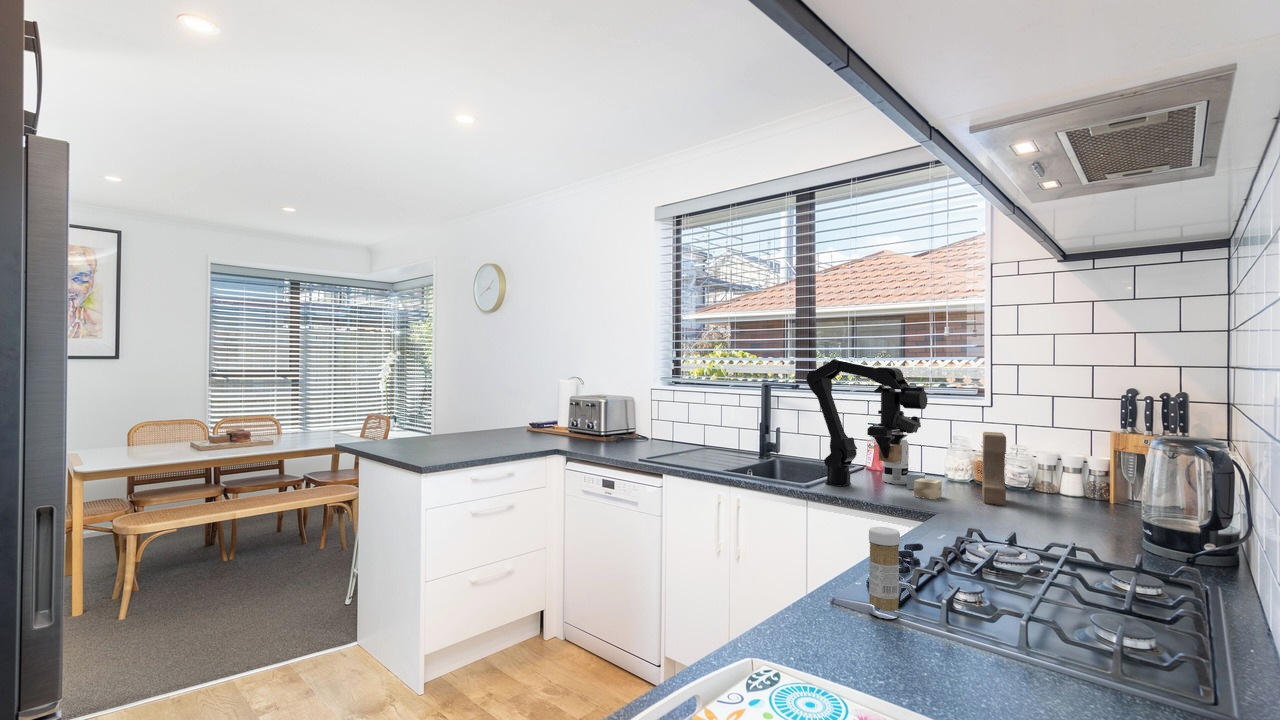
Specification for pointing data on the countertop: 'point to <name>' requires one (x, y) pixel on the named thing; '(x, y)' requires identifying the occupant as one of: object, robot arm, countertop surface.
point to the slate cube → (913, 478)
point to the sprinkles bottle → (884, 568)
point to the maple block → (927, 488)
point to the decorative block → (994, 468)
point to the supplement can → (897, 467)
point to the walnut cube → (892, 454)
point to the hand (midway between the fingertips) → (890, 457)
